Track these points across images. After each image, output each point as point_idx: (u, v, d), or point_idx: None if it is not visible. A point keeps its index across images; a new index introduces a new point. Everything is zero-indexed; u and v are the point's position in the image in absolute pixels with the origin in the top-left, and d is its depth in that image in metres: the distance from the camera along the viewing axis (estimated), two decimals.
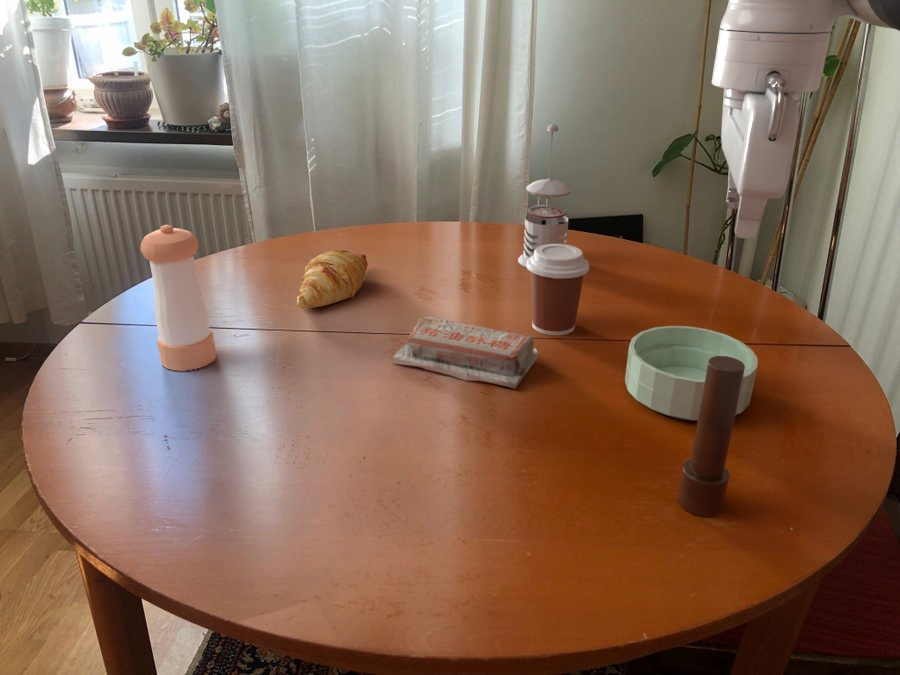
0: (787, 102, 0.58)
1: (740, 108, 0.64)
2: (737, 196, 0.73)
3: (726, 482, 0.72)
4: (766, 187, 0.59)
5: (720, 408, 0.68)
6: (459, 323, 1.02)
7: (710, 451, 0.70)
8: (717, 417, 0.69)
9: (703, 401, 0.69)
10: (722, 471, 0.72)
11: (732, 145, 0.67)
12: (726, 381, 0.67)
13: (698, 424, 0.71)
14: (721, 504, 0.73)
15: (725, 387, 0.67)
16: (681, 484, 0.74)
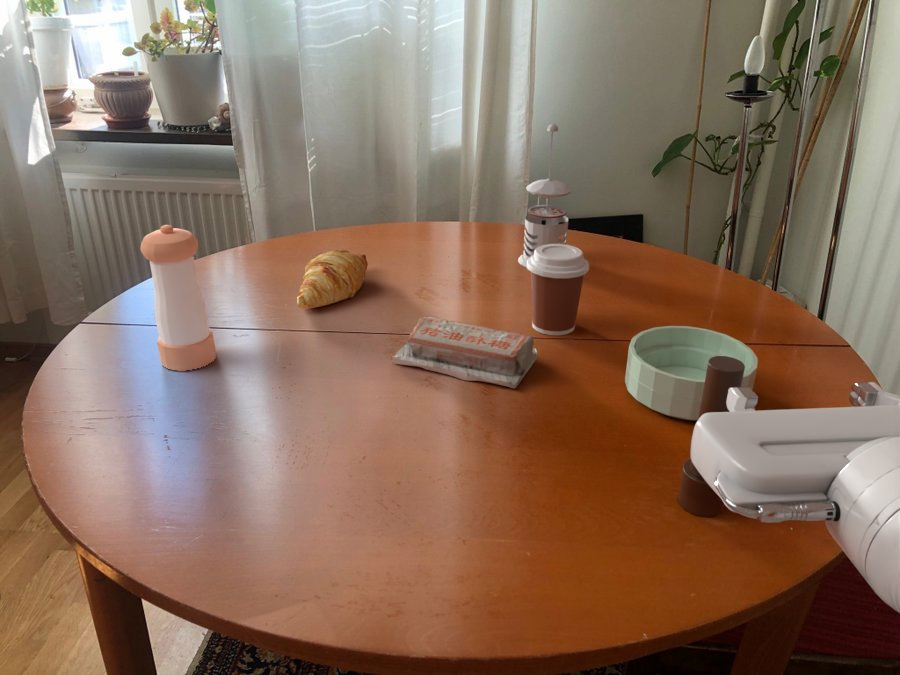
0: None
1: (848, 455, 0.45)
2: (861, 399, 0.54)
3: None
4: (692, 444, 0.50)
5: (720, 408, 0.68)
6: (459, 323, 1.02)
7: None
8: None
9: (703, 401, 0.69)
10: None
11: (850, 423, 0.48)
12: (726, 381, 0.67)
13: None
14: (721, 504, 0.73)
15: (725, 387, 0.67)
16: (681, 484, 0.74)
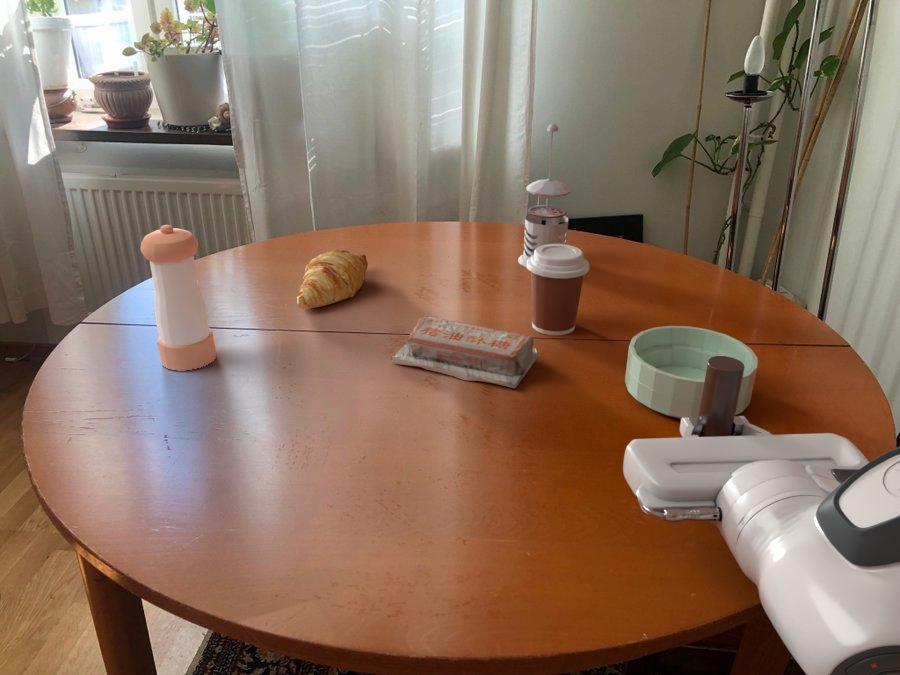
0: None
1: (733, 473, 0.61)
2: (733, 429, 0.71)
3: None
4: (624, 462, 0.66)
5: (719, 408, 0.68)
6: (459, 323, 1.02)
7: None
8: (717, 417, 0.69)
9: (703, 401, 0.69)
10: None
11: (740, 449, 0.65)
12: (726, 381, 0.67)
13: None
14: None
15: (725, 386, 0.67)
16: None
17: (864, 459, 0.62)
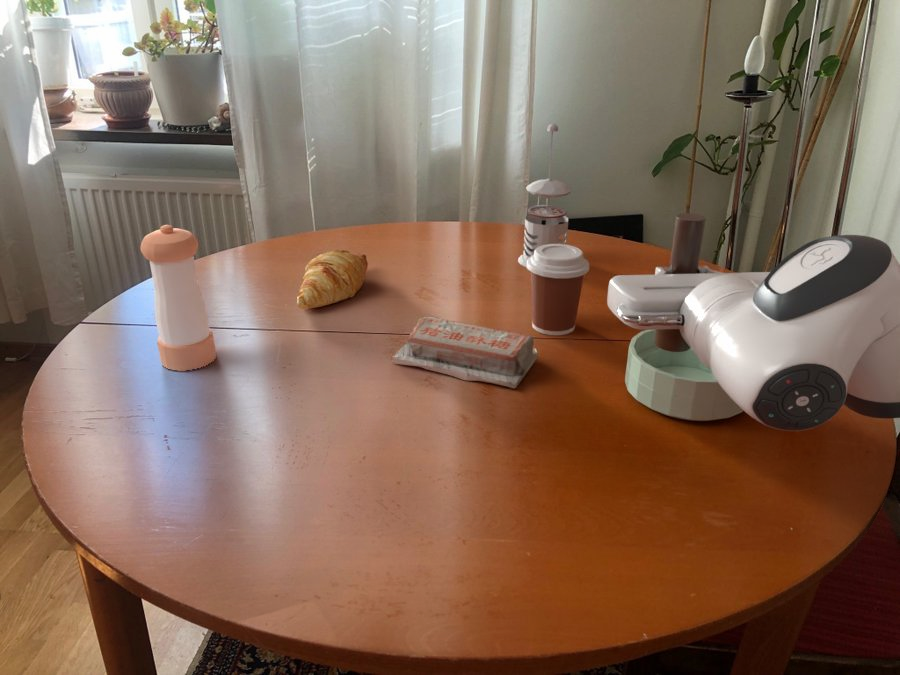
0: None
1: None
2: None
3: None
4: (608, 294, 0.82)
5: (686, 253, 0.84)
6: (459, 323, 1.02)
7: None
8: (684, 262, 0.84)
9: (672, 250, 0.85)
10: None
11: (701, 279, 0.80)
12: (690, 229, 0.82)
13: None
14: None
15: (690, 234, 0.83)
16: None
17: None
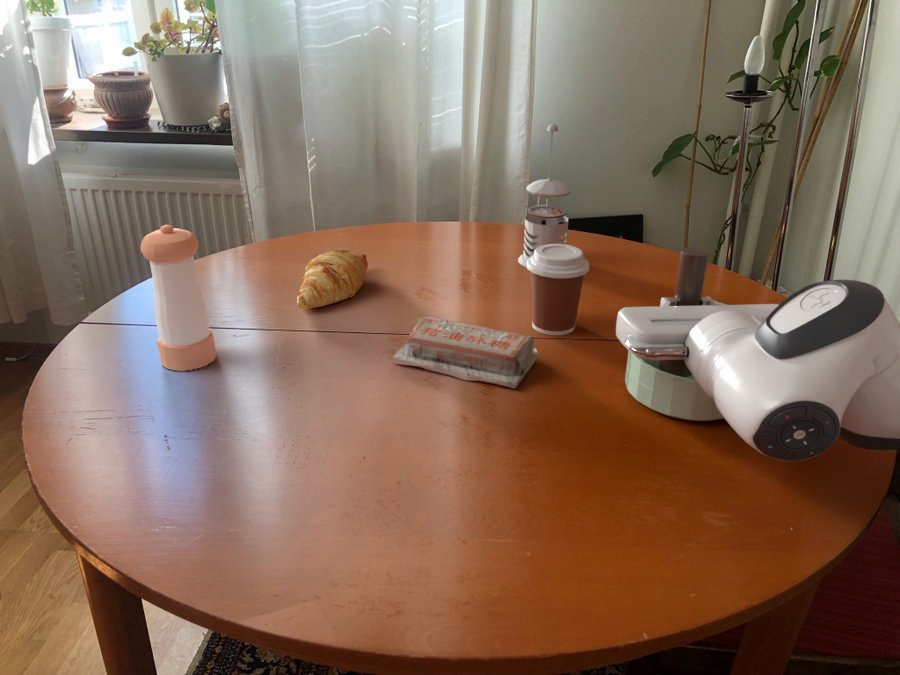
0: None
1: None
2: (701, 306, 0.91)
3: None
4: (616, 325, 0.87)
5: (690, 286, 0.89)
6: (459, 323, 1.02)
7: None
8: (688, 293, 0.89)
9: (677, 282, 0.90)
10: None
11: (704, 312, 0.85)
12: (694, 264, 0.87)
13: None
14: None
15: (694, 268, 0.88)
16: None
17: None
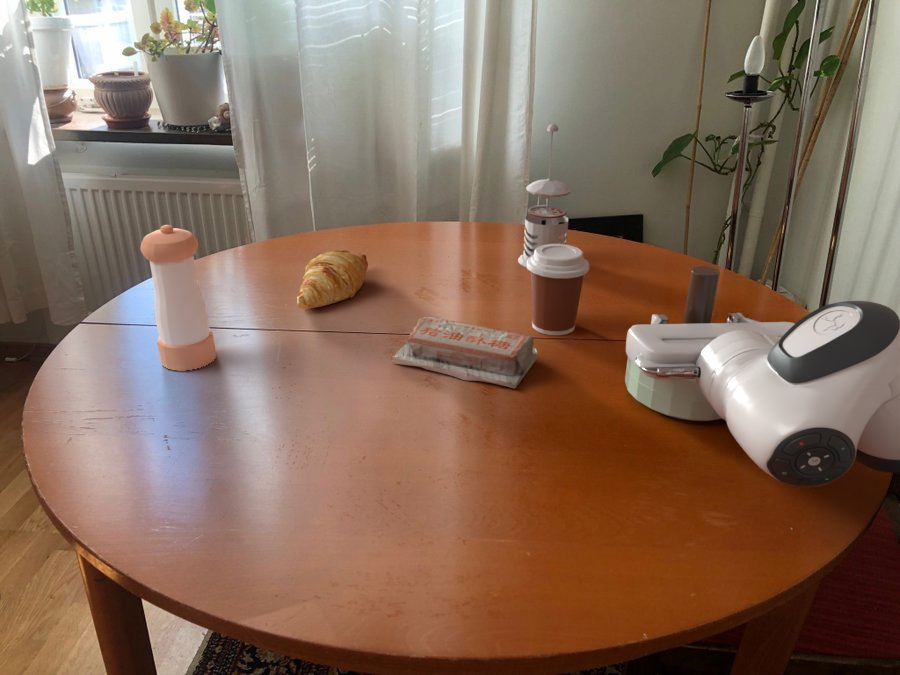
0: None
1: None
2: (731, 322, 0.90)
3: None
4: (626, 343, 0.85)
5: (700, 305, 0.87)
6: (459, 323, 1.02)
7: None
8: (698, 313, 0.88)
9: (687, 302, 0.89)
10: None
11: (716, 330, 0.84)
12: (705, 283, 0.86)
13: (684, 321, 0.90)
14: None
15: (704, 288, 0.86)
16: None
17: None
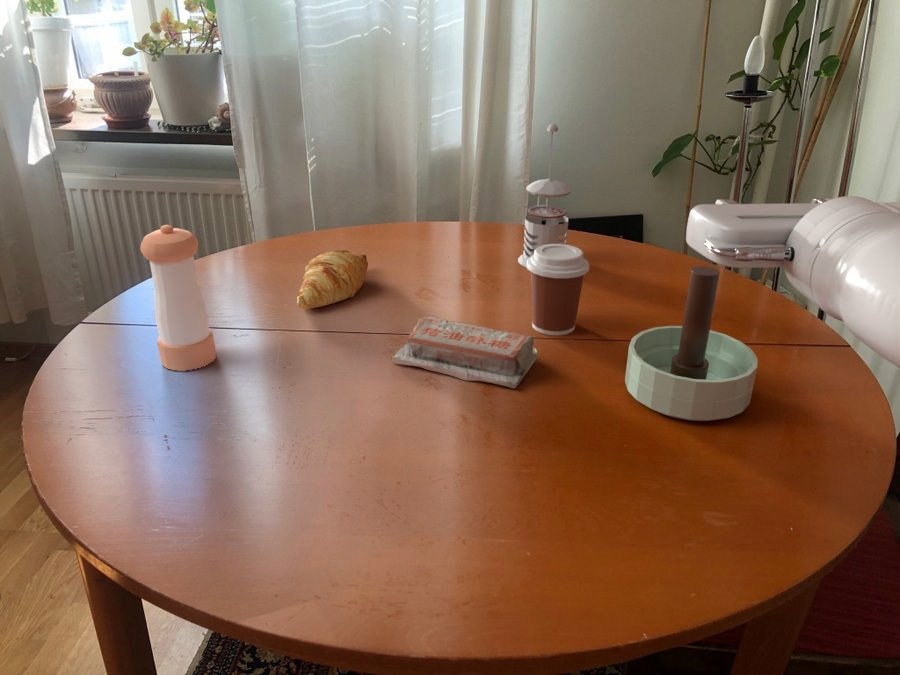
0: None
1: None
2: None
3: (706, 368, 0.91)
4: (688, 228, 0.66)
5: (700, 305, 0.87)
6: (459, 323, 1.02)
7: (693, 342, 0.90)
8: (698, 313, 0.88)
9: (687, 302, 0.89)
10: (703, 360, 0.91)
11: (805, 209, 0.64)
12: (705, 283, 0.86)
13: (684, 321, 0.90)
14: None
15: (704, 288, 0.86)
16: (671, 372, 0.93)
17: None
